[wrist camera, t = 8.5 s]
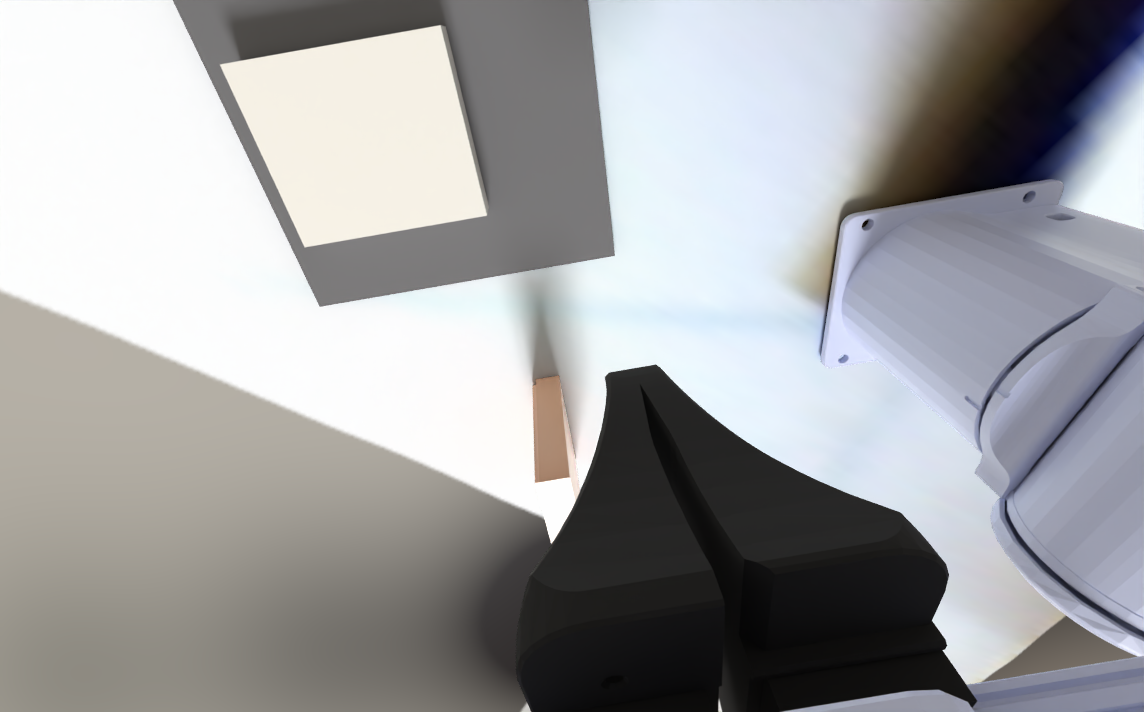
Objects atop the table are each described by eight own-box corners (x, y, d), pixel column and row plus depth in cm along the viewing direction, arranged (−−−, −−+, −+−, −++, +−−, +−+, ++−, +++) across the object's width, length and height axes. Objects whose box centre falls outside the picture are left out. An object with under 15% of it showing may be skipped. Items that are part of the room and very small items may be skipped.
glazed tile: (440, 25, 15) (219, 64, 15) (487, 215, 18) (304, 247, 18) (446, 27, 16) (241, 63, 16) (489, 205, 20) (317, 235, 20)
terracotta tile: (558, 375, 25) (569, 477, 19) (576, 460, 28) (589, 570, 22) (531, 379, 25) (534, 483, 19) (551, 464, 28) (559, 575, 22)
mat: (573, -117, 15) (574, -120, 15) (613, 252, 21) (614, 255, 21) (160, -42, 15) (151, -44, 15) (322, 302, 22) (320, 306, 21)
